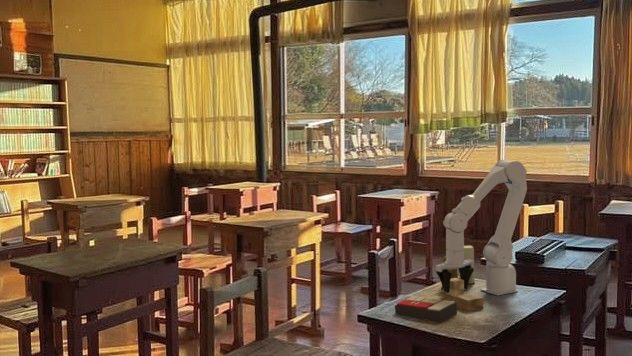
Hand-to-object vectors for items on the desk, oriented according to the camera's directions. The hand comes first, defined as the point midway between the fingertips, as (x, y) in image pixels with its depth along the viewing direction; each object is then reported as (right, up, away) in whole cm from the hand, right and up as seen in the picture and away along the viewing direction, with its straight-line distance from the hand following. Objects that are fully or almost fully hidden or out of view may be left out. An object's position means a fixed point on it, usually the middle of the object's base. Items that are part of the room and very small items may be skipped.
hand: (455, 290), depth 200 cm
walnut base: (+1, -3, -14) cm, 14 cm away
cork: (+1, -1, +9) cm, 10 cm away
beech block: (0, -2, 0) cm, 2 cm away
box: (+7, 0, +16) cm, 17 cm away
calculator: (-13, -4, -20) cm, 24 cm away
